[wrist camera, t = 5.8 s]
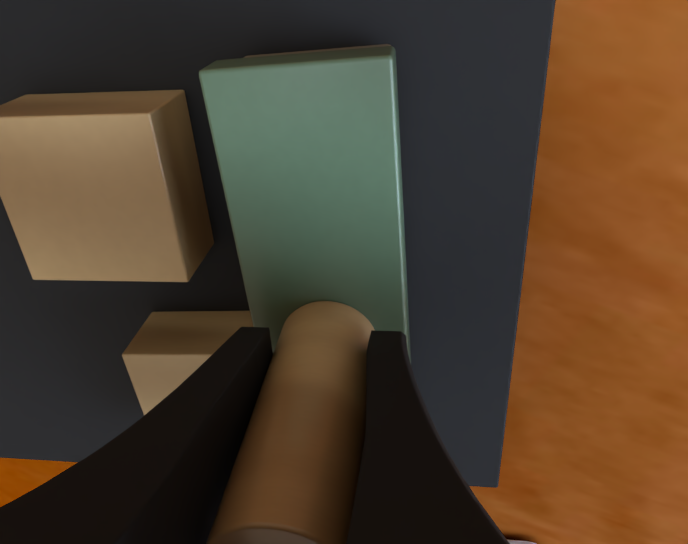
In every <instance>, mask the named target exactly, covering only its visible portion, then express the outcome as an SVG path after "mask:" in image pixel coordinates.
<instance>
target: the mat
mask: <svg viewBox="0 0 688 544" xmlns="http://www.w3.org/2000/svg"><path fill="white" fill-rule="evenodd" d="M554 8H555V0H0V105H2V104H5V103H7V102H9V101H12V100H14V99H17V98H19V97H21V96H24V95H27V94H59V93H91V92H123V91H155V90H184V91H185V96H186V101H187V106H188V111H189V116H190V121H191V127H192V132H193V137H194V142H195V147H196V152H197V157H198V162H199V168H200V173H201V178H202V183H203V188H204V193H205V198H206V203H207V209H208V214H209V219H210V224H211V229H212V234H213V239H214V244H213V246H212V247H211V249H210V250H209V252H208V253H207V255H206V256H205V258H204V259H203V261H202V262H201V264H200V265H199V267H198V268H197V270H196V271H195V273H194V274H193V276H192V277H191V279H190V280H189V281H188V282H143V281H78V280H34V279H33V278H32V276H31V273H30V271H29V268H28V266H27V263H26V260H25V258H24V255H23V253H22V250H21V248H20V245H19V243H18V240H17V237H16V235H15V232H14V230H13V227H12V225H11V222H10V220H9V217H8V214H7V212H6V209H5V207H4V204H3V202H2V199H1V197H0V457H2V458H19V459H35V460H52V461H68V462H80V461H81V460H83V459H85V458H86V457H88V456H89V455H91V454H92V453H94V452H95V451H97V450H98V449H100V448H101V447H103V446H104V445H105V444H107V443H108V442H110V441H111V440H112V439H114V438H115V437H117V436H118V435H119V434H121V433H122V432H124V431H125V430H126V429H128V428H129V427H130V426H132V425H133V424H134V423H135V422H137V421H138V420H139V419H141V418H142V417H143V416H144V414H143V411H142V408H141V406H140V403H139V400H138V398H137V395H136V392H135V390H134V387H133V384H132V381H131V379H130V376H129V373H128V371H127V368H126V365H125V363H124V360H123V357H122V353H123V352H124V351H125V349H126V348H127V346H128V345H129V344H130V342H131V341H132V339H133V338H134V337H135V335H136V334H137V332H138V331H139V330H140V328H141V327H142V325H143V324H144V323H145V321H146V320H147V318H148V317H149V316H150V314H151V313H152V312H173V311H250V309H249V304H248V300H247V295H246V291H245V286H244V281H243V277H242V272H241V267H240V263H239V258H238V254H237V249H236V244H235V240H234V235H233V231H232V226H231V221H230V217H229V212H228V208H227V203H226V198H225V194H224V189H223V185H222V180H221V175H220V171H219V166H218V162H217V157H216V152H215V148H214V143H213V139H212V134H211V129H210V125H209V120H208V116H207V111H206V106H205V102H204V97H203V93H202V88H201V83H200V79H199V71H200V70H202V69H203V68H205V67H206V66H208V65H210V64H211V63H213V62H214V61H216V60H225V59H237V58H244V57H245V56H249V55H261V54H273V53H285V52H297V51H309V50H321V49H333V48H345V47H357V46H369V45H381V44H389V45H391V46H392V47H394V48H395V50H396V68H397V88H398V108H399V129H400V149H401V169H402V190H403V210H404V230H405V251H406V271H407V291H408V311H409V332H410V352H411V366H412V370H413V373H414V376H415V379H416V382H417V385H418V388H419V390H420V393H421V395H422V398H423V400H424V403H425V405H426V408H427V410H428V412H429V414H430V417H431V419H432V421H433V423H434V425H435V427H436V429H437V431H438V433H439V435H440V437H441V439H442V441H443V443H444V445H445V447H446V449H447V451H448V452H449V454H450V456H451V458H452V459H453V461H454V463H455V465H456V466H457V468H458V470H459V471H460V473H461V475H462V476H463V478H464V479H465V481H466V483H467V484H468V486H480V487H498V481H499V473H500V464H501V456H502V447H503V439H504V430H505V422H506V414H507V405H508V397H509V388H510V380H511V371H512V363H513V354H514V346H515V337H516V329H517V320H518V312H519V304H520V295H521V287H522V278H523V270H524V261H525V253H526V244H527V236H528V227H529V219H530V211H531V202H532V194H533V185H534V177H535V168H536V160H537V151H538V143H539V134H540V126H541V118H542V109H543V101H544V92H545V84H546V75H547V67H548V58H549V50H550V41H551V33H552V25H553V16H554Z"/></svg>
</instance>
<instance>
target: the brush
mask: <svg viewBox="0 0 688 544" xmlns="http://www.w3.org/2000/svg"><path fill="white" fill-rule="evenodd" d="M199 79H200V83H201V88H202V93H203V97H204V102H205V106H206V111H207V116H208V120H209V125H210V129H211V134H212V139H213V143H214V148H215V152H216V157H217V162H218V166H219V171H220V175H221V180H222V185H223V189H224V194H225V198H226V203H227V208H228V212H229V217H230V221H231V226H232V231H233V235H234V240H235V244H236V249H237V254H238V258H239V263H240V267H241V272H242V277H243V281H244V286H245V291H246V295H247V300H248V304H249V309H250V314H251V318H252V323H253V327H269V330H270V337H271V344H272V350H273V356H272V359H271V361H270V364H269V367H268V370H267V373H266V375H265V378H264V381H263V384H262V387H261V390H260V392H259V395H258V398H257V401H256V404H255V407H254V409H253V412H252V415H251V418H250V421H249V423H248V426H247V429H246V432H245V435H244V438H243V440H242V443H241V446H240V449H239V452H238V455H237V457H236V460H235V463H234V466H233V469H232V471H231V474H230V477H229V480H228V483H227V486H226V488H225V491H224V494H223V497H222V500H221V502H220V505H219V508H218V511H217V514H216V517H215V519H214V522H213V525H212V528H211V531H210V534H209V536H208V539H207V542H206V544H346V541H347V536H348V531H349V526H350V521H351V516H352V511H353V505H354V500H355V494H356V488H357V483H358V477H359V471H360V465H361V459H362V452H363V446H364V440H365V428H366V355H367V347H368V342H369V338H370V334H371V330H374V331H401V332H402V333H404V334H405V335H406V336H407V340H406V342H407V350H408V355H409V359H410V363H411V352H410V332H409V311H408V291H407V271H406V251H405V230H404V210H403V190H402V169H401V149H400V129H399V108H398V88H397V68H396V50H395V48H394V47H392V46H391V45H389V44H381V45H369V46H357V47H345V48H333V49H321V50H309V51H297V52H285V53H273V54H261V55H249V56H245V57H244V58H237V59H225V60H216V61H214V62H213V63H211V64H210V65H208V66H206V67H205V68H203V69H202V70H200V71H199Z"/></svg>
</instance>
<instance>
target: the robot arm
mask: <svg viewBox="0 0 688 544" xmlns="http://www.w3.org/2000/svg"><path fill="white" fill-rule="evenodd" d="M406 340H407V336H406V335H405V334H404V333H402V332H401V331H374V330H371V334H370V338H369V342H368V347H367V355H366V428H365V440H364V446H363V452H362V459H361V465H360V471H359V477H358V483H357V488H356V494H355V500H354V505H353V511H352V516H351V521H350V526H349V531H348V536H347V541H346V544H536V543H534V542H530V541H520V540H507V539H506V538H505V536H504V535H503V534H502V532H501V531H500V530H499V528H498V527H497V526H496V524H495V523H494V521H493V520H492V519H491V517H490V516H489V515H488V513H487V512H486V511H485V509H484V508H483V506H482V505H481V504H480V502H479V501H478V499H477V498H476V497H475V495H474V493H473V492H472V490H471V489H470V487H469V486H468V484H467V483H466V481H465V479H464V478H463V476H462V475H461V473H460V471H459V470H458V468H457V466H456V465H455V463H454V461H453V459H452V458H451V456H450V454H449V452H448V451H447V449H446V447H445V445H444V443H443V441H442V439H441V437H440V435H439V433H438V431H437V429H436V427H435V425H434V423H433V421H432V419H431V417H430V414H429V412H428V410H427V408H426V405H425V403H424V400H423V398H422V395H421V393H420V390H419V388H418V385H417V382H416V379H415V376H414V373H413V370H412V366H411V363H410V359H409V355H408V350H407V342H406ZM272 356H273V350H272V344H271V337H270V330H269V327H240V328H239V329H238V330H237V331H236V332H235V333H234V334H233V335H232V336H231V337H230V338H229V339H228V340H227V341H226V342H225V343H224V344H222V345H221V346H220V347H219V348H218V349H217V350H216V351H215V352H214V353H213V354H212V355H211V356H210V357H209V358H208V359H207V360H206V361H205V362H204V363H203V364H202V365H201V366H200V367H199V368H198V369H197V370H196V371H194V372H193V373H192V374H191V375H190V376H189V377H188V378H187V379H186V380H185V381H184V382H183V383H181V384H180V385H179V386H178V387H177V388H176V389H175V390H174V391H173V392H171V393H170V394H169V395H168V396H167V397H166V398H164V399H163V400H162V401H161V402H160V403H158V404H157V405H156V406H155V407H154V408H153V409H151V410H150V411H149V412H148V413H147V414H145V415H144V416H143V417H142V418H141V419H139V420H138V421H137V422H135V423H134V424H133V425H132V426H130V427H129V428H128V429H126V430H125V431H124V432H122V433H121V434H119V435H118V436H117V437H115V438H114V439H112V440H111V441H110V442H108V443H107V444H105V445H104V446H103V447H101V448H100V449H98V450H97V451H95V452H94V453H92V454H91V455H89V456H88V457H86V458H85V459H83V460H81V461H80V462H78V463H76V464H75V465H73V466H72V467H70V468H68V469H67V470H65V471H64V472H62V473H60V474H59V475H57V476H56V477H54V478H52V479H51V480H49V481H47V482H46V483H44V484H42V485H41V486H39V487H37V488H35V489H34V490H32V491H30V492H28V493H26V494H25V495H23V496H21V497H19V498H17V499H16V500H14V501H12V502H10V503H8V504H6V505H4V506H2V507H0V544H206V542H207V539H208V536H209V534H210V531H211V528H212V525H213V522H214V519H215V517H216V514H217V511H218V508H219V505H220V502H221V500H222V497H223V494H224V491H225V488H226V486H227V483H228V480H229V477H230V474H231V471H232V469H233V466H234V463H235V460H236V457H237V455H238V452H239V449H240V446H241V443H242V440H243V438H244V435H245V432H246V429H247V426H248V423H249V421H250V418H251V415H252V412H253V409H254V407H255V404H256V401H257V398H258V395H259V392H260V390H261V387H262V384H263V381H264V378H265V375H266V373H267V370H268V367H269V364H270V361H271V359H272Z"/></svg>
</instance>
